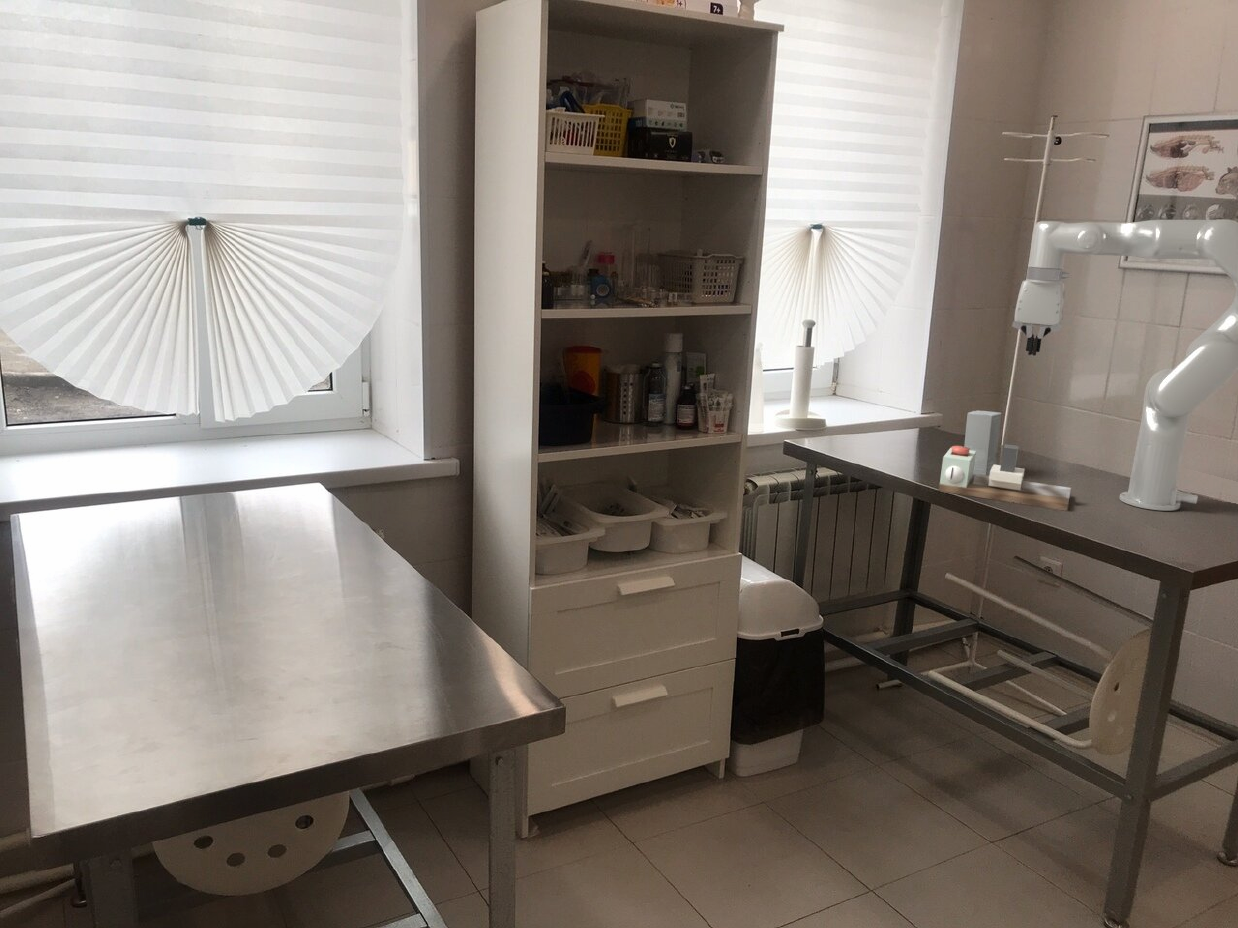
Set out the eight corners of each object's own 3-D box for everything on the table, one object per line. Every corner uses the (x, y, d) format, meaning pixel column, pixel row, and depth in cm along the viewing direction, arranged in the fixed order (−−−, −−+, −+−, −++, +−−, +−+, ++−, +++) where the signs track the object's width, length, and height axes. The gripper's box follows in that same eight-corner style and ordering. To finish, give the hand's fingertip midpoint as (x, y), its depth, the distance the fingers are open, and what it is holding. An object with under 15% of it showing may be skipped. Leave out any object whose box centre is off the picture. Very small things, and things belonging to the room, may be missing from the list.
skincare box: (986, 478, 247) (995, 416, 244) (957, 472, 252) (966, 411, 248) (996, 472, 254) (1005, 412, 250) (968, 467, 258) (977, 407, 254)
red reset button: (968, 460, 238) (970, 447, 237) (966, 463, 234) (968, 450, 233) (951, 457, 239) (953, 445, 238) (949, 461, 236) (951, 448, 235)
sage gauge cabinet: (972, 476, 242) (976, 451, 240) (965, 488, 231) (969, 461, 229) (947, 473, 244) (950, 447, 243) (939, 484, 233) (943, 457, 232)
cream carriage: (1022, 484, 235) (1028, 445, 233) (1019, 491, 228) (1025, 452, 226) (991, 479, 238) (996, 441, 236) (987, 486, 231) (993, 447, 229)
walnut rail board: (1069, 496, 234) (1071, 482, 233) (1067, 510, 222) (1069, 495, 221) (946, 478, 246) (948, 464, 245) (938, 490, 233) (940, 476, 232)
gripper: (1079, 277, 230) (1066, 356, 234) (1011, 273, 236) (1000, 349, 241) (1078, 279, 223) (1065, 359, 228) (1008, 274, 230) (997, 353, 234)
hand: (1032, 354), depth 234 cm, fingers closed
